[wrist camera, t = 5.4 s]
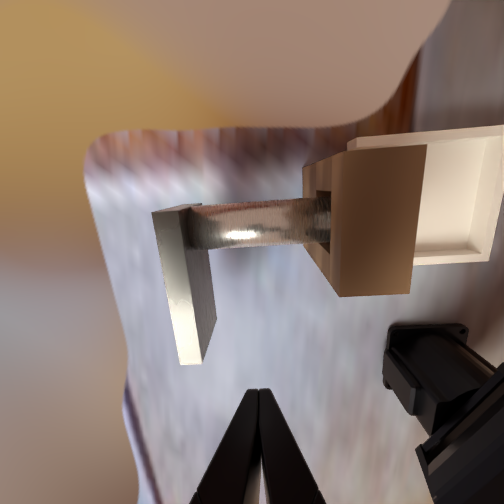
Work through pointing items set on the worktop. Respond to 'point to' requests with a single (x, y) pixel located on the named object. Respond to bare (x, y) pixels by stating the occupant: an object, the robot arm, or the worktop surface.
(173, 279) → the grey piece
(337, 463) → the worktop surface
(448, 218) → the tray
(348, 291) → the block
